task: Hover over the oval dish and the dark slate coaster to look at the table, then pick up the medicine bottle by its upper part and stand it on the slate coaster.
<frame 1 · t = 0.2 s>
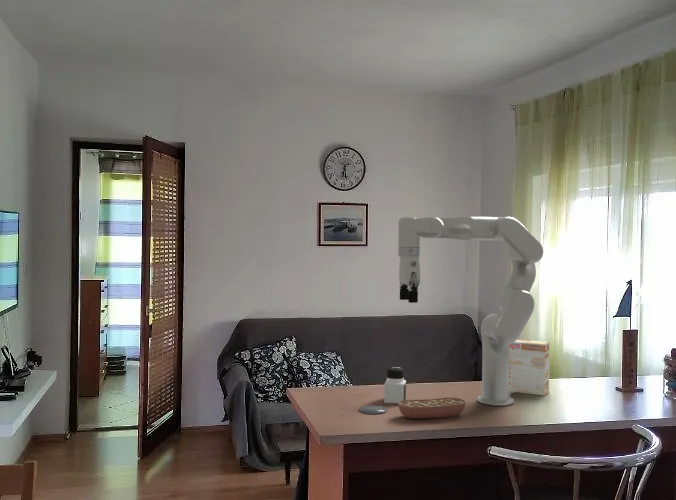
hand: (408, 301, 229), 37 cm above the table, tool pointing down, fingers open, 9 cm apart
medicine bottle: (395, 401, 235), on the table
coaster: (373, 410, 222), on the table
coffeecake box: (527, 392, 250), on the table
oval dish: (432, 417, 215), on the table
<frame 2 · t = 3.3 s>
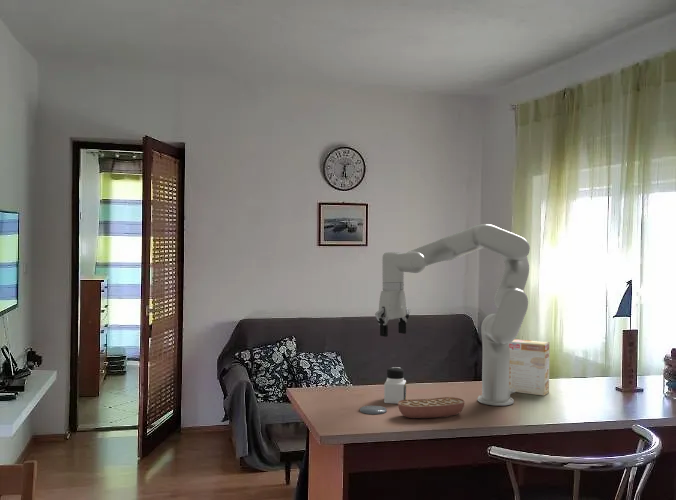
hand: (393, 334, 233), 24 cm above the table, tool pointing down, fingers open, 9 cm apart
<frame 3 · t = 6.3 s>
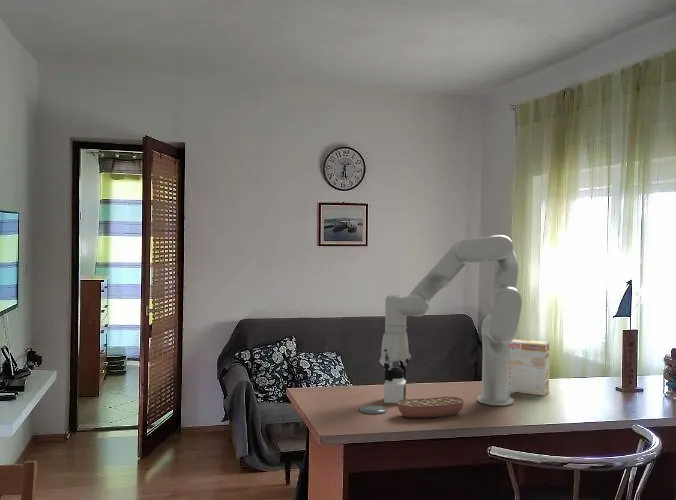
hand: (395, 378, 235), 8 cm above the table, tool pointing down, fingers closed on medicine bottle, 6 cm apart
medicine bottle: (395, 401, 235), on the table, touching gripper
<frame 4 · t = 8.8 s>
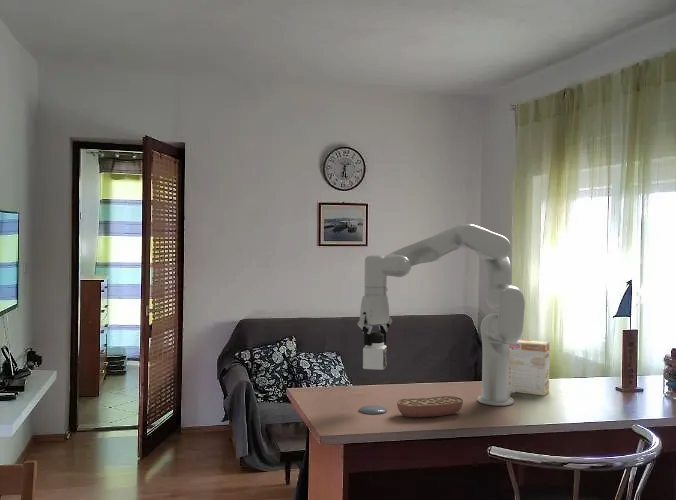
hand: (375, 343, 223), 23 cm above the table, tool pointing down, fingers closed on medicine bottle, 6 cm apart
medicine bottle: (374, 368, 223), point 14 cm above the table, touching gripper
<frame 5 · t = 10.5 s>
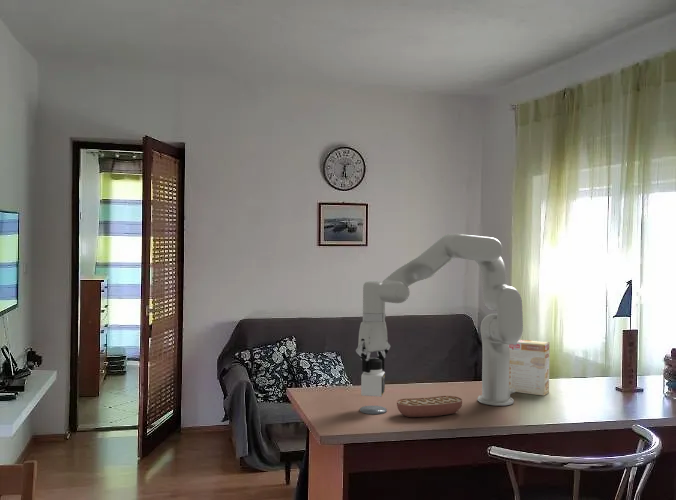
hand: (373, 370, 222), 14 cm above the table, tool pointing down, fingers closed on medicine bottle, 6 cm apart
medicine bottle: (373, 394, 222), point 6 cm above the table, touching gripper
when the fingers open (10 cm above the table, at t = 11.7 s): medicine bottle drops 1 cm, resting on coaster.
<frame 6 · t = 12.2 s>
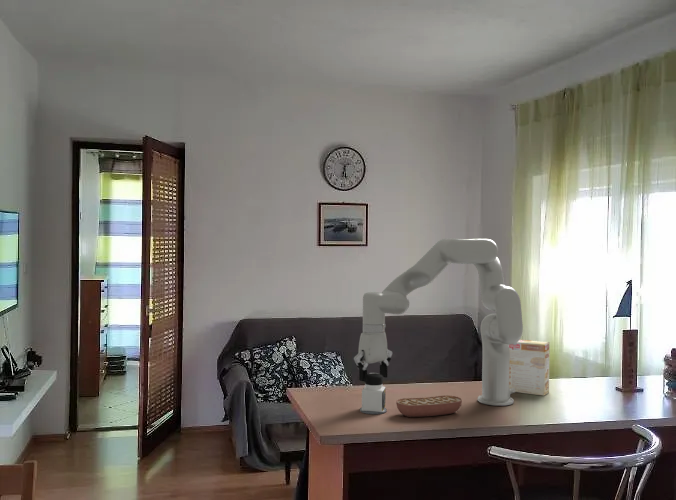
hand: (373, 378, 222), 11 cm above the table, tool pointing down, fingers open, 9 cm apart
medicine bottle: (373, 409, 222), resting on coaster
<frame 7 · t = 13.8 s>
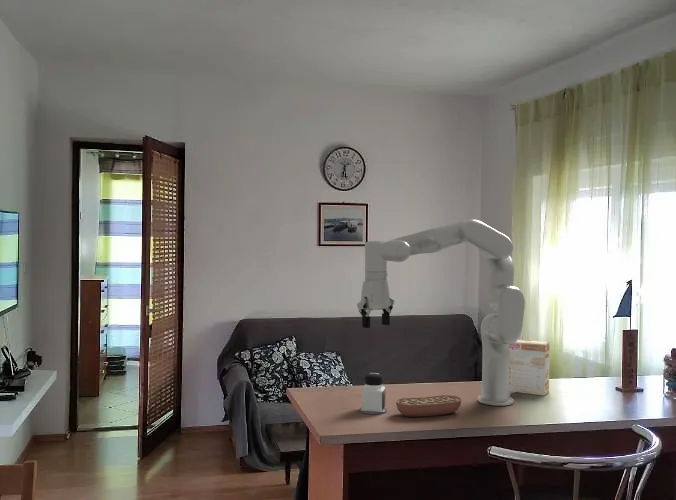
hand: (376, 326, 225), 28 cm above the table, tool pointing down, fingers open, 9 cm apart
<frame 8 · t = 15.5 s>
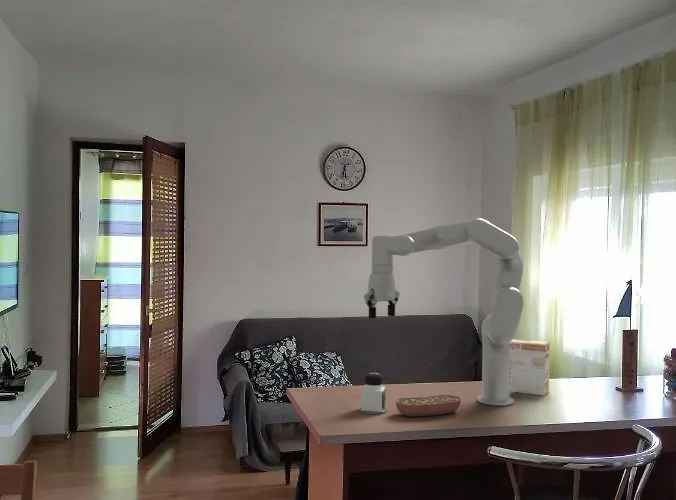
hand: (381, 317, 235), 30 cm above the table, tool pointing down, fingers open, 9 cm apart
at the end: medicine bottle inside the target area on the coaster (0.1 cm from its centre), point 0.4 cm above the coaster's base; medicine bottle tilted 0°; the gripper is holding nothing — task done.
